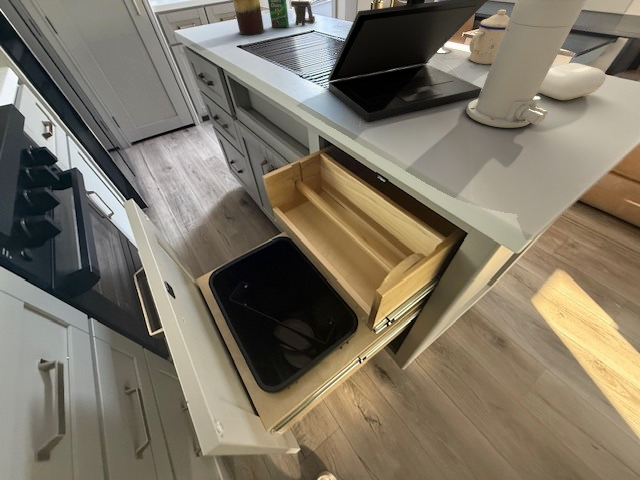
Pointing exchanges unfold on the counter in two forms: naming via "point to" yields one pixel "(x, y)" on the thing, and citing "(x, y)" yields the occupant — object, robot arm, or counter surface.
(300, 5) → the tablet stand
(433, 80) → the laptop
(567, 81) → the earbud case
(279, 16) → the coffee box
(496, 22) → the teacup with lid
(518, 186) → the counter surface
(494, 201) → the counter surface
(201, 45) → the counter surface
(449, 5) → the laptop screen
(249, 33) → the vase
